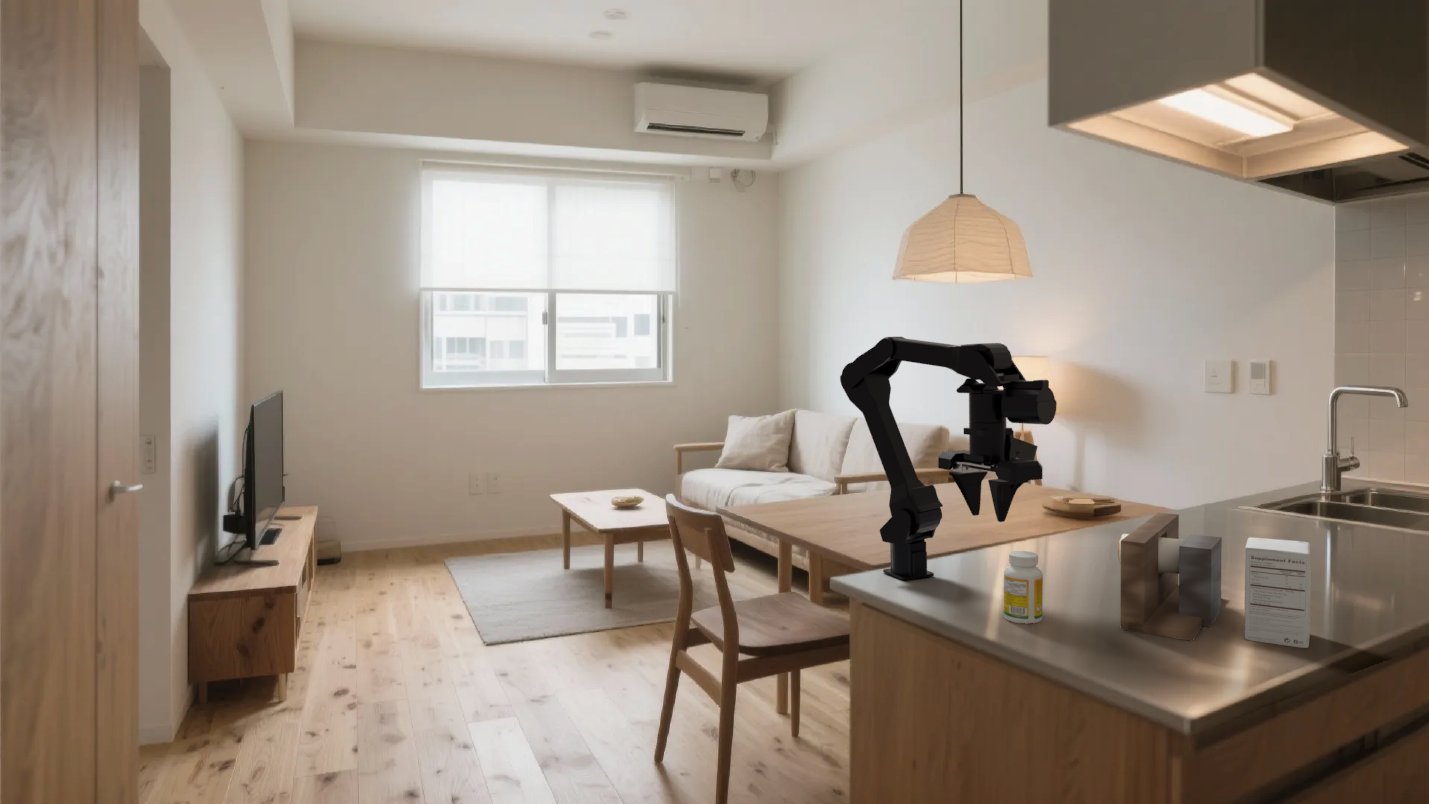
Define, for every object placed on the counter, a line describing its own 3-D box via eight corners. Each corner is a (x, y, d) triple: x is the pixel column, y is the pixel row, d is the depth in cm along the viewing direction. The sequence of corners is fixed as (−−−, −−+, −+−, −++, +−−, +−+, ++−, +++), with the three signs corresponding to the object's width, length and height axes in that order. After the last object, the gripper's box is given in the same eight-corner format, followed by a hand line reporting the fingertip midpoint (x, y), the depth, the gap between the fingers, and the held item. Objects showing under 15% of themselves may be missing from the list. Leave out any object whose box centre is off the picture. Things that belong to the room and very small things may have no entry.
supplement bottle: (1013, 625, 129) (1013, 559, 128) (997, 614, 134) (997, 550, 133) (1049, 623, 129) (1049, 557, 129) (1032, 612, 135) (1032, 549, 134)
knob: (1116, 569, 135) (1116, 536, 134) (1124, 563, 139) (1125, 530, 138) (1178, 577, 130) (1178, 543, 129) (1185, 570, 134) (1185, 536, 133)
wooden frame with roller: (1117, 628, 126) (1117, 540, 125) (1154, 589, 145) (1155, 512, 144) (1201, 642, 120) (1201, 549, 119) (1228, 599, 139) (1229, 518, 138)
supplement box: (1246, 625, 126) (1247, 536, 126) (1310, 633, 122) (1311, 541, 121) (1242, 640, 120) (1243, 546, 120) (1309, 649, 116) (1310, 552, 115)
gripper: (1070, 422, 139) (1070, 523, 140) (989, 415, 156) (989, 505, 157) (1012, 427, 135) (1013, 530, 136) (935, 419, 152) (936, 511, 153)
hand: (988, 518), depth 145 cm, fingers open, 6 cm apart
